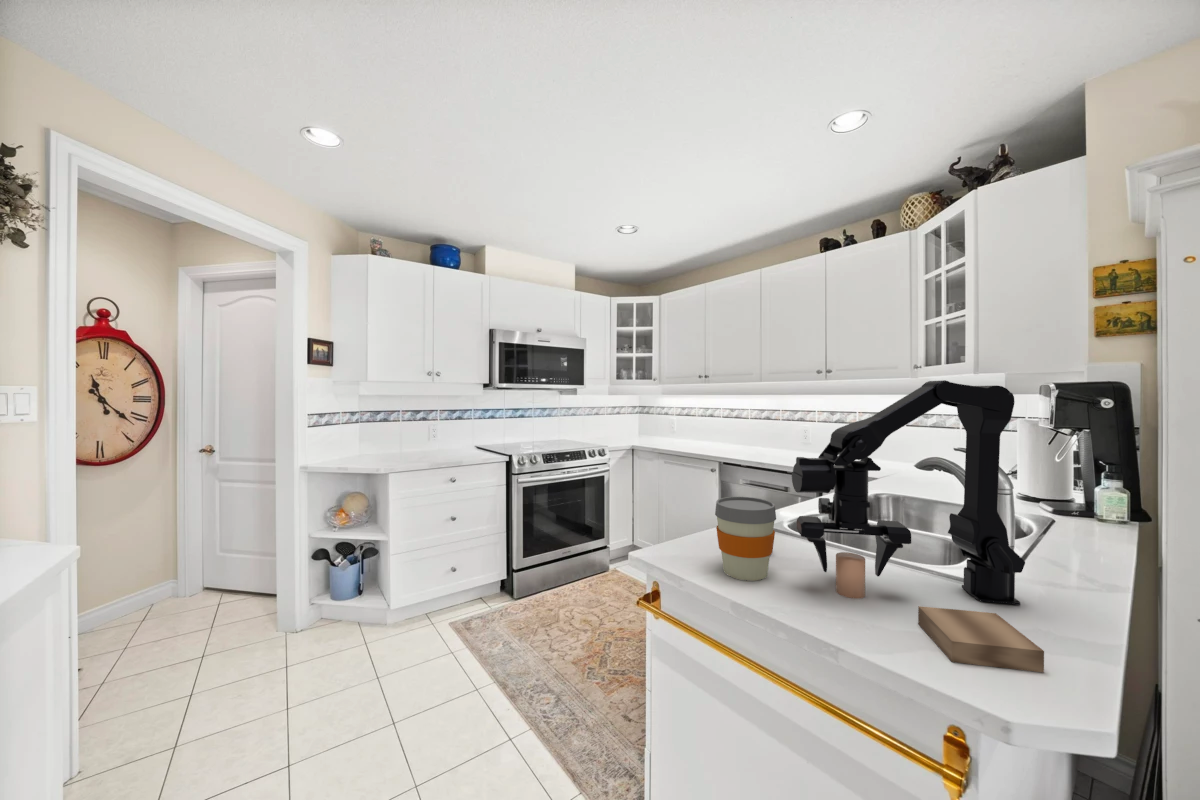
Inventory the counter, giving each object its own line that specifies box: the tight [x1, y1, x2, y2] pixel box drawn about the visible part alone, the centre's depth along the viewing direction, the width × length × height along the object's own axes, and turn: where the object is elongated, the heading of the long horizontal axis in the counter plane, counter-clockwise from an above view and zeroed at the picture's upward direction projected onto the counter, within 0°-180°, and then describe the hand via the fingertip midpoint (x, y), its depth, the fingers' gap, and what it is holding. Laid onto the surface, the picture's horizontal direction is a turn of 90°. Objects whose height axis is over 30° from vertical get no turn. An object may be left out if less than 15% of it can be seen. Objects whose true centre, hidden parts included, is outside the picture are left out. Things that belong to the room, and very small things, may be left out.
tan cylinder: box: [835, 551, 866, 600], centre depth 88 cm, size 5×5×7 cm
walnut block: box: [917, 605, 1045, 673], centre depth 70 cm, size 11×11×3 cm
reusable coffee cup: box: [714, 496, 777, 582], centre depth 99 cm, size 13×13×15 cm
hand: (850, 573), depth 88 cm, fingers open, 9 cm apart
